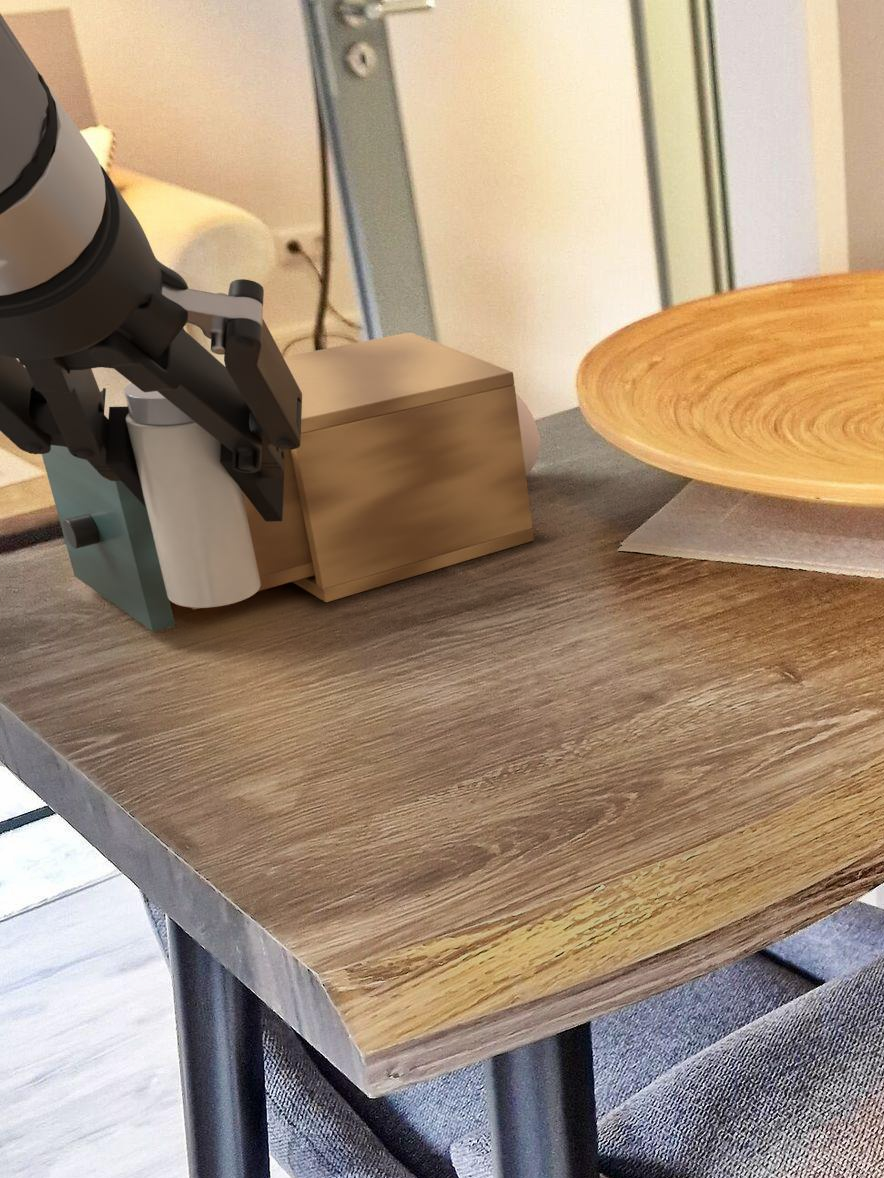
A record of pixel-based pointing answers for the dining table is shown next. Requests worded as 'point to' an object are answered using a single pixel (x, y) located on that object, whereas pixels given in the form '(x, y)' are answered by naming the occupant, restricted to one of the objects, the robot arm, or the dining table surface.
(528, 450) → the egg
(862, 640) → the dining table surface
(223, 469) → the salt shaker
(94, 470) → the drawer
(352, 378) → the cabinet
